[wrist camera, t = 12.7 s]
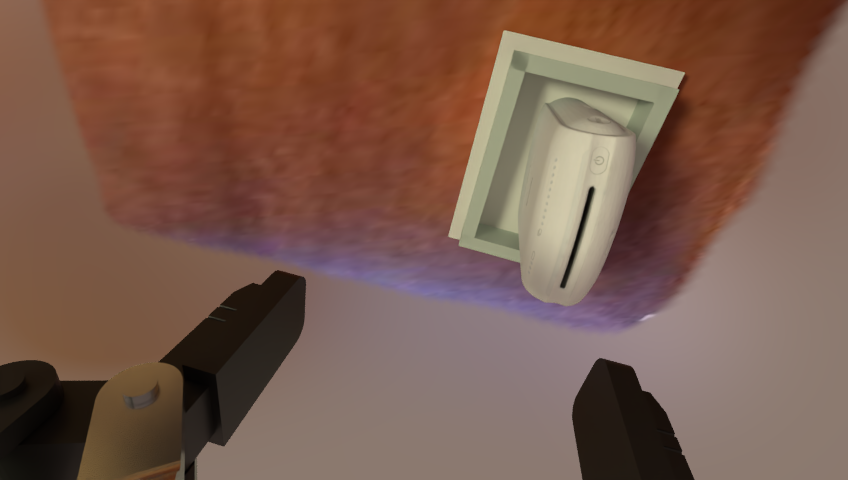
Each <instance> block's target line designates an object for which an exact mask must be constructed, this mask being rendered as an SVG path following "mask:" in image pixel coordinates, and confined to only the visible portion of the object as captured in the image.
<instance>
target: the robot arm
mask: <svg viewBox="0 0 848 480" xmlns="http://www.w3.org/2000/svg"><path fill="white" fill-rule="evenodd" d="M305 293H306V280H305V278H304V277H301V276H298V275H294V274H290V273H287V272H283V271H279V270H277V271H275V272H274V273H273V274H271V275H270V277H269V278H267V279H266V280H265V282H264V283H263V284H262V285H258V284H255V283H252V284H250V285H248V286H245V287H243V288H241V289H239V290H237V291H235V292H233V293H232V294H231V296H229V297H228V298H227V299H226V300H225V301H224V302H223V303H222V304H220V307H217V308H216V309H215V310H214V311H213V312H212V313H211V314H210V315H209V317H208V318H206V319H204V320H203V321H202V322H201V323H200V324H199V325H198V326H197V327H196V328H195V329H194V330H193V331H192V332H190V333H189V335H187V336H186V337H185V338H184V339H183V340H182V341H181V342H180V343H179V344H177V345H176V346H175V348H173V349H172V350H171V351H170V352H169V353H168V354H167V355H166V356H165V357H164V358H163V359H161V360H160V361H159V362H152V363H144V364H140V365H137V366H133V367H130V368H128V369H126V370H124V371H122V372H120V373H118V374H117V375H115V376H114V377H113V378H111V379H110V380H107V381H60V380H59V378H58V375H57V373H56V370H55V368H54V367H53V366H52V365H50V364H48V363H46V362H43V361H37V360H26V361H18V362H12V363H8V364H4V365H2V366H0V480H197V456H198V454H199V453H200V452H201V450H202V449H203V448H204V446H205V445H206V443H207V442H211V443H215V444H217V445H221V446H225V445H226V443H227V442H228V440H229V439H230V437H231V436H232V434H233V433H234V432H235V430H236V429H237V427H238V426H239V424H240V423H241V421H242V420H243V418H244V417H245V416H246V414H247V413H248V411H249V410H250V408H251V407H252V406H253V404H254V402H255V401H256V400H257V398H258V397H259V395H260V394H261V392H262V391H263V390H264V388H265V387H266V385H267V384H268V382H269V381H270V380H271V378H272V377H273V375H274V374H275V372H276V371H277V369H278V368H279V367H280V365H281V363H282V362H283V361H284V359H285V358H286V356H287V355H288V353H289V352H290V351H291V349H292V348H293V346H294V345H295V343H296V342H297V340H298V338H299V336H300V334H301V331H302V329H303V325H304V317H305ZM572 420H573V426H574V432H575V438H576V444H577V450H578V456H579V462H580V467H581V473H582V479H583V480H694V478H693V475H692V473H691V470H690V468H689V466H688V463H687V461H686V459H685V456H684V455H682V449H681V447H680V445H679V442H678V440H677V438H676V437H674V434H675V433H674V430H673V428H672V426H671V423H670V421H669V419H668V416H667V414H666V412H665V411H664V409H663V408H662V407H661V406H660V404H659V403H658V402H657V401H656V400H655V399H654V397H653V396H652V394H651V393H649V392H646V391H642V389H641V386H640V384H639V381H638V378H637V376H636V373H635V371H634V369H633V368H632V367H631V366H628V365H625V364H621V363H617V362H614V361H610V360H606V359H602V358H599V359H598V360H597V361H596V362H595V363H594V365H593V367H592V369H591V370H590V372H589V374H588V376H587V378H586V380H585V381H584V383H583V385H582V387H581V388H580V390H579V392H578V394H577V396H576V398H575V401H574V405H573V412H572Z"/></svg>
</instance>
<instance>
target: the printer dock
mask: <svg viewBox="0 0 848 480" xmlns="http://www.w3.org/2000/svg"><path fill="white" fill-rule="evenodd" d="M684 74H685V72H681V71H676V70H672V69H668V68H663V67H659V66H655V65H651V64H646V63H642V62H638V61H634V60H629V59H625V58H621V57H616V56H612V55H608V54H604V53H599V52H595V51H591V50H587V49H582V48H578V47H574V46H570V45H565V44H561V43H557V42H552V41H548V40H544V39H540V38H535V37H531V36H527V35H523V34H518V33H514V32H510V31H505V30H504V32H503V35H502V39H501V43H500V47H499V50H498V54H497V58H496V61H495V65H494V69H493V72H492V76H491V80H490V84H489V87H488V91H487V95H486V98H485V102H484V106H483V110H482V113H481V117H480V121H479V124H478V128H477V132H476V135H475V139H474V143H473V147H472V150H471V154H470V158H469V161H468V165H467V169H466V173H465V176H464V180H463V184H462V187H461V191H460V195H459V199H458V202H457V206H456V210H455V213H454V217H453V221H452V224H451V228H450V232H449V236H448V237H451V238H455V239H459V240H460V241H459V245H458V246H462V247H465V248H469V249H473V250H476V251H480V252H483V253H487V254H491V255H494V256H498V257H501V258H505V259H509V260H512V261H516V262H519V263H520V249H519V234H518V209H519V203H520V197H521V191H522V185H523V180H524V175H525V170H526V165H527V160H528V156H529V151H530V147H531V142H532V138H533V134H534V130H535V126H536V123H537V119H538V116H539V114H540V111H541V109H542V107H543V105H544V103H551V102H552V101H554V100H557V99H559V98H565V97H571V98H576V99H579V100H581V101H583V102H584V103H586V104H587V105H589V106H590V107H592V108H593V109H597V110H599V111H601V112H602V113H604V114H605V115H607V116H608V117H610V118H612V119H613V120H615V121H616V122H618V123H619V124H621V125H623V126H624V127H626V128H627V129H629V130H630V131H632V132H634V133H635V135H636V151H635V161H634V167H633V176H632V181H631V185H630V189H631V187H632V185H633V183H634V181H635V179H636V177H637V175H638V173H639V171H640V169H641V167H642V165H643V163H644V161H645V159H646V157H647V155H648V153H649V151H650V149H651V147H652V145H653V143H654V141H655V139H656V137H657V135H658V133H659V131H660V129H661V127H662V125H663V123H664V121H665V118H666V116H667V114H668V112H669V110H670V108H671V106H672V104H673V102H674V100H675V98H676V96H677V94H678V92H679V89H677V88H678V86H679V84H680V82H681V80H682V78H683V76H684ZM630 189H629V191H630ZM628 194H629V192H628Z"/></svg>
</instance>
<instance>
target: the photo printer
mask: <svg viewBox="0 0 848 480" xmlns="http://www.w3.org/2000/svg"><path fill="white" fill-rule="evenodd" d="M635 151H636V135H635V133H634V132H632V131H630V130H629V129H627V128H626V127H624V126H623V125H621V124H619V123H618V122H616V121H615V120H613V119H612V118H610V117H608V116H607V115H605V114H604V113H602V112H601V111H599V110H597V109H593V108H592V107H590V106H589V105H587V104H586V103H584V102H583V101H581V100H579V99H576V98H571V97H565V98H559V99H557V100H554V101H552V102H551V103H544V105H543V107H542V109H541V111H540V114H539V116H538V119H537V123H536V126H535V130H534V134H533V138H532V142H531V147H530V151H529V156H528V160H527V165H526V170H525V175H524V180H523V185H522V191H521V197H520V203H519V209H518V234H519V249H520V264H521V277H522V283H523V285H524V287H525V288H526V289H527V291H528V292H529V293H530V294H531V295H533V296H534V297H536V298H538V299H539V300H541V301H543V302H553V303H558V304H561V305H564V306H571V305H574V304H577V303H579V302H580V301H581V300H582V299H583V298H584V297H585V295H586V294H587V293H588V292H589V290H590V289H591V287H592V286H593V285H594V283H595V281H596V280H597V278H598V276H599V274H600V272H601V269H602V267H603V265H604V263H605V261H606V258H607V256H608V253H609V251H610V248H611V245H612V243H613V240H614V237H615V235H616V232H617V229H618V226H619V223H620V220H621V216H622V213H623V210H624V207H625V203H626V200H627V196H628V192H629V189H630V185H631V181H632V176H633V167H634V161H635Z"/></svg>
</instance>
